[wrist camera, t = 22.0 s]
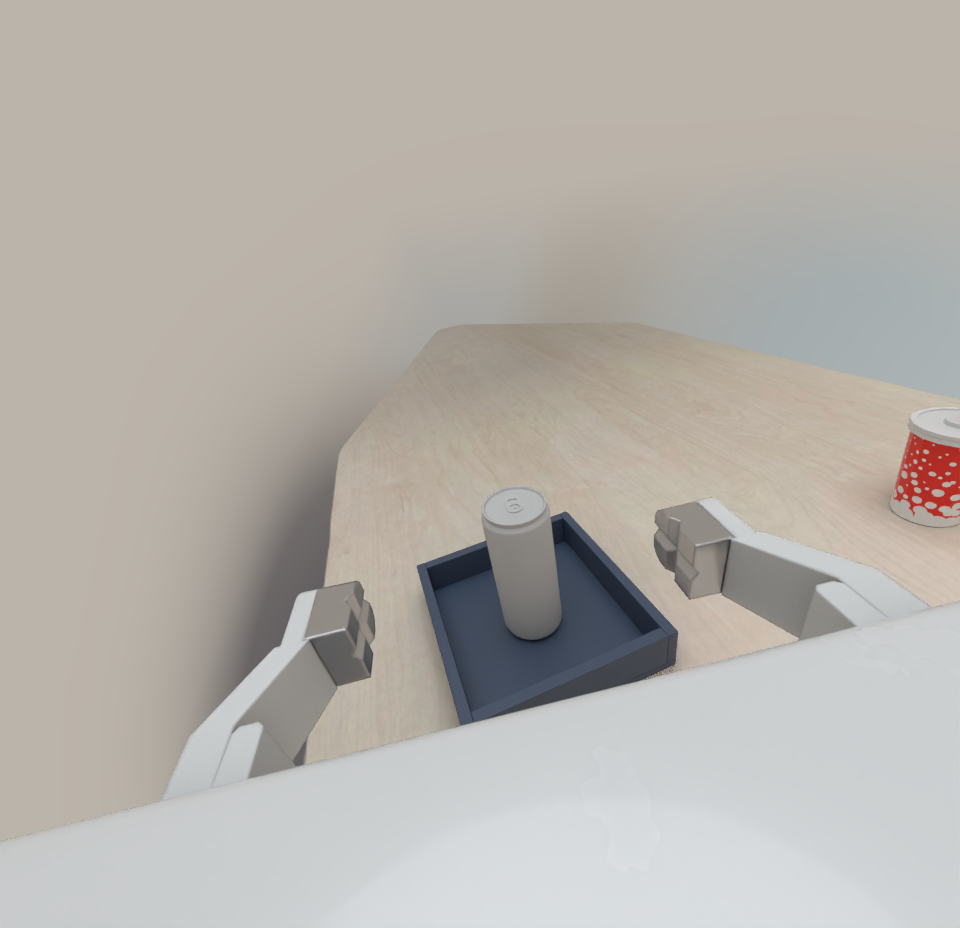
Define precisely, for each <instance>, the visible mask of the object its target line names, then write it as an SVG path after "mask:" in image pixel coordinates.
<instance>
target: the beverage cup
mask: <svg viewBox="0 0 960 928" xmlns="http://www.w3.org/2000/svg"><path fill="white" fill-rule="evenodd" d="M909 421H910V422H909V424H908V425H907V426H908V428H909V430H910V432H909V436H908V439H907V443H906V447H905V450H904V454H903V457H902V461H901V464H900V468H899V472H898V475H897V479H896V482H895V486H894V489H893V493H892V497H891V500H890V507H891V510H892V511H894V512H895V513H896V514H897V515H898V516H900V517H902V518H904V519H906V520H908V521H911V522H914V523H917V524H921V525H925V526H932V527H952V526H955V525H957V524H959V523H960V407H935V408H925V409H922V410H919V411H916V412H914V413H913V414H912V415H911V416H910V418H909Z"/></svg>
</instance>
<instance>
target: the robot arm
mask: <svg viewBox="0 0 960 928" xmlns="http://www.w3.org/2000/svg"><path fill="white" fill-rule="evenodd" d="M655 523H656V525H657V526H658V527H659V529H658V531H657V532H656V533H655V535H654V547H655V551H656V554H657V556H658V558H659V560H660V562H661V563H662V565H663V566H664V567H665V569H667V570H669V571H672V572H674V573H675V582H676V583H677V584H678V586H679V587H680V588H681V590H682V591H683V592H684V593H685V595H686V596H687V597H688V598H689V600H690V599H695V598H700V597H704V596H709V595H714V594H718V593H722V595H723V596H725V597H727V598H729V599H730V600H732V601H734V602H736V603H738V604H739V605H741V606H743V607H745V608H746V609H748V610H750V611H752V612H753V613H755V614H757V615H759V616H761V617H762V618H764V619H766V620H768V621H769V622H771V623H773V624H775V625H776V626H778V627H780V628H782V629H784V630H785V631H787V632H789V633H791V634H792V635H794V636H796V637H798V641H796V642H792V643H788V644H784V645H780V646H776V647H772V648H768V649H764V650H760V651H756V652H752V653H748V654H744V655H740V656H736V657H732V658H728V659H724V660H720V661H716V662H712V663H708V664H704V665H700V666H696V667H692V668H688V669H684V670H680V671H677V672H673V673H669V674H665V675H661V676H657V677H653V678H649V679H645V680H641V681H637V682H633V683H629V684H625V685H621V686H617V687H613V688H609V689H605V690H601V691H597V692H593V693H589V694H585V695H581V696H577V697H573V698H569V699H565V700H561V701H557V702H553V703H549V704H545V705H541V706H537V707H533V708H529V709H525V710H521V711H517V712H513V713H509V714H505V715H501V716H497V717H493V718H489V719H485V720H481V721H477V722H473V723H469V724H465V725H461V726H457V727H453V728H449V729H445V730H441V731H437V732H433V733H429V734H425V735H421V736H417V737H413V738H409V739H405V740H401V741H397V742H393V743H389V744H385V745H381V746H377V747H373V748H369V749H366V750H362V751H358V752H354V753H350V754H346V755H342V756H338V757H334V758H330V759H326V760H322V761H318V762H314V763H310V764H306V765H302V766H298V767H296V766H295V765H294V763H293V762H292V761H293V760H294V758H295V756H296V755H297V753H298V752H299V750H300V748H301V747H302V745H303V743H304V742H305V740H306V739H307V737H308V735H309V734H310V732H311V731H312V729H313V727H314V726H315V724H316V723H317V721H318V719H319V718H320V716H321V714H322V713H323V711H324V710H325V708H326V706H327V705H328V703H329V701H330V700H331V698H332V697H333V695H334V693H335V692H336V690H337V686H341V685H344V684H348V683H352V682H355V681H359V680H363V679H366V678H370V677H371V669H372V660H373V652H372V650H371V648H370V646H369V645H370V644H371V642H372V641H373V640H374V638H375V620H374V614H373V610H372V608H371V605H370V603H369V602H367V601H366V600H364V599H363V595H364V590H363V588H362V586H361V584H360V582H358V581H353V582H348V583H344V584H339V585H334V586H329V587H325V588H320V589H317V590H313V591H307V592H303V593H300V594H299V596H298V597H297V598H296V601H295V604H294V607H293V610H292V613H291V616H290V619H289V622H288V625H287V628H286V631H285V634H284V637H283V640H282V643H281V646H280V647H276V648H274V649H273V650H272V651H271V652H270V653H269V654H268V655H267V656H266V657H265V658H264V660H263V661H262V662H261V663H260V664H259V665H258V666H257V667H256V668H255V669H254V670H253V671H252V672H251V673H250V674H249V675H248V676H247V677H246V678H245V679H244V680H243V682H241V684H240V685H239V686H238V687H237V688H236V689H235V690H234V691H233V692H232V693H231V694H230V695H229V696H228V697H227V698H226V699H225V700H224V701H223V702H222V704H220V706H219V707H218V708H217V709H216V710H215V711H214V712H213V713H212V714H211V715H210V716H209V717H208V718H207V719H206V720H205V721H204V722H203V723H202V724H201V726H199V727H198V729H197V730H196V731H195V732H194V733H193V734H192V735H191V736H190V737H189V739H188V741H187V743H186V746H185V748H184V750H183V752H182V755H181V757H180V759H179V761H178V763H177V766H176V768H175V770H174V772H173V774H172V777H171V779H170V781H169V783H168V786H167V788H166V790H165V792H164V794H163V796H162V799H161V801H159V802H154V803H150V804H146V805H142V806H138V807H134V808H130V809H126V810H123V811H119V812H115V813H110V814H107V815H103V816H99V817H95V818H91V819H87V820H83V821H79V822H75V823H71V824H67V825H63V826H59V827H55V828H51V829H47V830H43V831H39V832H35V833H31V834H27V835H23V836H20V837H15V838H11V839H7V840H2V841H0V928H960V601H956V602H952V603H948V604H944V605H940V606H936V607H931V606H929V605H928V604H927V603H925V602H924V601H922V600H921V599H920V598H918V597H917V596H915V595H914V594H912V593H911V592H910V591H908V590H907V589H905V588H904V587H903V586H901V585H900V584H898V583H897V582H896V581H894V580H893V579H891V578H890V577H888V576H887V575H886V574H884V573H883V572H881V571H880V570H879V569H877V568H874V567H871V566H867V565H864V564H861V563H858V562H855V561H852V560H849V559H846V558H843V557H840V556H837V555H833V554H830V553H827V552H824V551H821V550H818V549H815V548H812V547H809V546H806V545H803V544H799V543H796V542H793V541H790V540H787V539H784V538H781V537H778V536H775V535H772V534H769V533H765V532H758V533H757V532H755V531H754V530H753V529H752V528H751V527H749V526H748V525H747V524H746V523H745V522H743V521H742V520H741V519H740V518H739V517H737V516H736V515H735V514H734V513H733V512H732V511H730V510H729V509H728V508H727V507H726V506H724V505H723V504H722V503H721V502H720V501H718V500H717V499H716V498H713V497H709V498H705V499H701V500H697V501H693V502H690V503H686V504H682V505H678V506H674V507H670V508H666V509H661V510H657V512H656V515H655Z"/></svg>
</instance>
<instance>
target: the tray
mask: <svg viewBox="0 0 960 928" xmlns="http://www.w3.org/2000/svg"><path fill="white" fill-rule="evenodd" d="M551 526H552V534H553V542H554V551H555V559H556V568H557V576H558V584H559V593H560V601H561V609H562V618H561V622H560V624H559V626H558V627H557V629H556V630H555V631H554V632H553V633H551V634H550V635H549V636H547V637H544V638H542V639H537V640H527V639H523V638H520V637H517V636H516V635H514V634H513V633H511V631H510V630H509V629H508V628H507V626H506V624H505V621H504V616H503V612H502V608H501V603H500V599H499V595H498V590H497V586H496V582H495V577H494V573H493V569H492V564H491V560H490V555H489V551H488V546H487V542H486V541H484V542H481V543H478V544H476V545H473V546H470V547H467V548H465V549H462V550H459V551H456V552H454V553H451V554H448V555H445V556H443V557H440V558H437V559H435V560H432V561H429V562H426V563H423V564H420V565H418V566H417V569H418V573H419V576H420V580H421V583H422V587H423V591H424V594H425V598H426V602H427V605H428V609H429V612H430V616H431V620H432V623H433V627H434V630H435V634H436V638H437V641H438V645H439V648H440V652H441V656H442V659H443V663H444V667H445V670H446V674H447V677H448V681H449V685H450V688H451V692H452V695H453V699H454V703H455V706H456V710H457V713H458V717H459V721H460V724H461V725H465V724H469V723H473V722H477V721H481V720H485V719H489V718H493V717H497V716H501V715H505V714H509V713H513V712H517V711H521V710H525V709H529V708H533V707H537V706H541V705H545V704H549V703H553V702H557V701H561V700H565V699H569V698H573V697H577V696H581V695H585V694H589V693H593V692H597V691H601V690H605V689H609V688H613V687H617V686H621V685H625V684H629V683H633V682H637V681H639V680H641V679H643V678H646V677H648V676H650V675H652V674H654V673H656V672H658V671H661V670H663V669H665V668H667V667H669V666H671V665H673V664H675V661H676V659H675V658H676V649H677V638H678V631H677V630H676V629H675V628H674V627H673V626H672V625H671V624H670V622H669V621H668V620H667V619H666V618H665V617H664V616H663V615H662V614H661V613H660V612H659V611H658V610H657V608H656V607H655V606H654V605H653V604H652V603H651V602H650V601H649V600H648V599H647V598H646V597H645V596H644V594H643V593H642V592H641V591H640V590H639V589H638V588H637V587H636V586H635V585H634V584H633V583H632V582H631V580H630V579H629V578H628V577H627V576H626V575H625V574H624V573H623V572H622V571H621V570H620V569H619V568H618V567H617V565H616V564H615V563H614V562H613V561H612V560H611V559H610V558H609V557H608V556H607V555H606V554H605V553H604V551H603V550H602V549H601V548H600V547H599V546H598V545H597V544H596V543H595V542H594V541H593V540H592V539H591V537H590V536H589V535H588V534H587V533H586V532H585V531H584V530H583V529H582V528H581V527H580V526H579V525H578V523H577V522H576V521H575V520H574V519H573V518H572V517H571V516H570V515H569V514H568V513H567V512H563V513H560V514H558V515H555V516H552V517H551Z"/></svg>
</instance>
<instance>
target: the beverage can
mask: <svg viewBox="0 0 960 928" xmlns="http://www.w3.org/2000/svg"><path fill="white" fill-rule="evenodd" d="M482 524H483V529H484V533H485V538H486V542H487V546H488V551H489V555H490V560H491V564H492V569H493V573H494V577H495V582H496V586H497V590H498V595H499V599H500V603H501V608H502V612H503V616H504V621H505V624H506V626H507V628H508V629H509V630H510V631H511V633H513V634H514V635H516V636H517V637H520V638H523V639H527V640H537V639H542V638H544V637H547V636H549V635H550V634H551V633H553V632H554V631H555V630H556V629H557V627H558V626H559V624H560V622H561V618H562V609H561V601H560V593H559V584H558V576H557V568H556V559H555V551H554V542H553V534H552V526H551V517H550V510H549V507H548V504H547V501H546V498H545V496H544V495H543V493H542V492H540V491H539V490H537V489H535V488H532V487H528V486H510V487H505V488H502V489H499V490H497V491H495V492H493V493H492V494H490V495H489V496H488V497H487V498H486V499H485V500H484V502H483V504H482Z"/></svg>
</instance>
